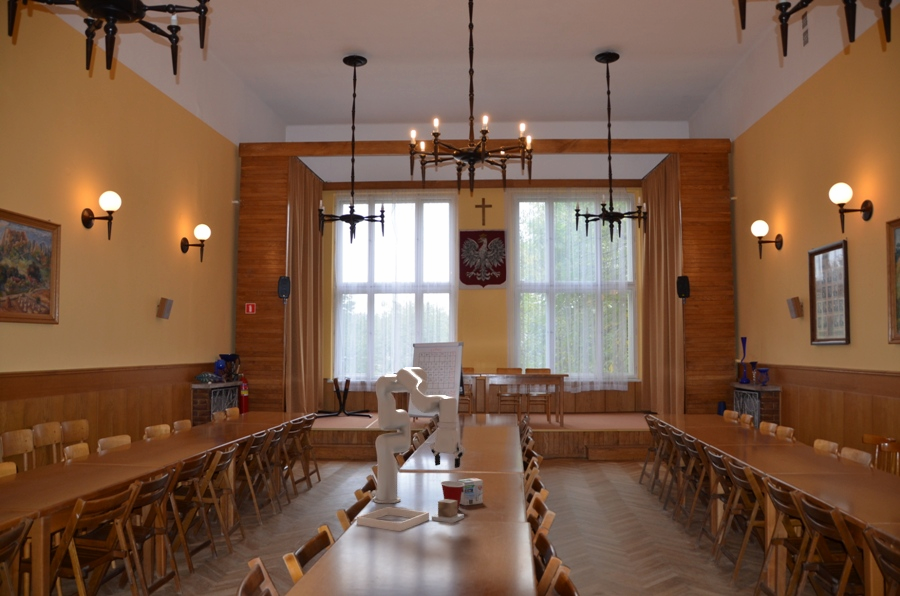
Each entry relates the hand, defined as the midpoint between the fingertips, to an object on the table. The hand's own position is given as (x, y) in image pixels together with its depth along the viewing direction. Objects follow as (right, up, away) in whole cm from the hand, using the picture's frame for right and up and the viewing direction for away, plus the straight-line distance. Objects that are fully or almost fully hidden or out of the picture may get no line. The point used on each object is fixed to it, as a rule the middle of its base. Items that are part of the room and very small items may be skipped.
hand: (447, 466), depth 300 cm
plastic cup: (+2, -23, +15) cm, 28 cm away
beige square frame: (-22, -22, -7) cm, 32 cm away
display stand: (0, -22, -2) cm, 22 cm away
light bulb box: (+11, -24, +29) cm, 39 cm away
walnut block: (0, -20, -2) cm, 21 cm away
